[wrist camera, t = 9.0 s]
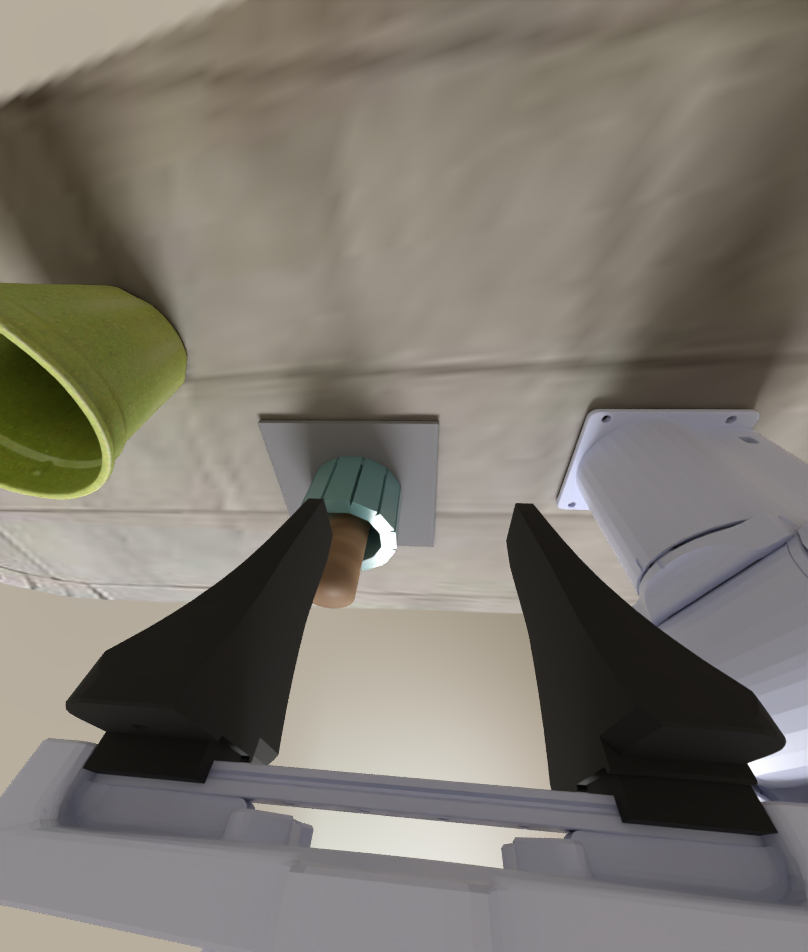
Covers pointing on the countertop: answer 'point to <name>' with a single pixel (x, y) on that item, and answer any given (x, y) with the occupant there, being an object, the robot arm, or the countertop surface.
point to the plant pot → (77, 382)
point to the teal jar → (362, 501)
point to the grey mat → (385, 442)
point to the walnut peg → (343, 561)
